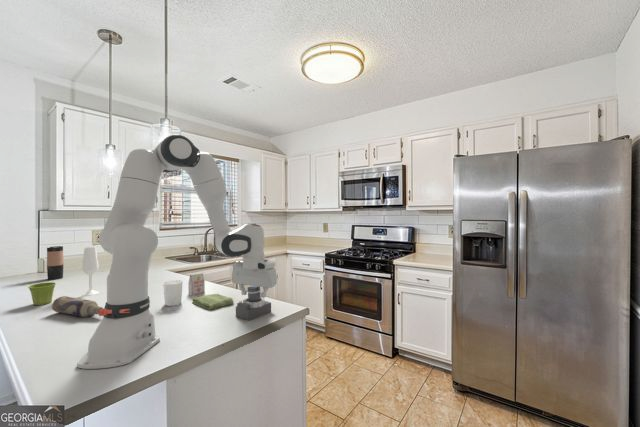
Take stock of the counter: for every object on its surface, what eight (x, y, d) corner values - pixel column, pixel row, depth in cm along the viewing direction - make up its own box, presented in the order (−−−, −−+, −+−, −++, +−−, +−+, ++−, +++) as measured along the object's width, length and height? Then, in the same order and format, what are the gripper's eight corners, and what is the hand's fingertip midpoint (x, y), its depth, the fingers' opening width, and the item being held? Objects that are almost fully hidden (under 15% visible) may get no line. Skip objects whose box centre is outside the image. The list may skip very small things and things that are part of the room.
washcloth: (215, 297, 145) (215, 290, 145) (235, 304, 133) (235, 297, 133) (189, 303, 135) (189, 296, 135) (208, 312, 123) (208, 304, 123)
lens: (263, 303, 121) (262, 286, 121) (255, 307, 116) (254, 289, 116) (254, 301, 123) (253, 284, 123) (245, 305, 119) (244, 288, 119)
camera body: (248, 320, 113) (248, 305, 112) (235, 316, 118) (235, 300, 118) (271, 312, 122) (271, 297, 122) (258, 308, 127) (258, 294, 127)
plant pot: (57, 303, 134) (57, 284, 134) (28, 308, 127) (28, 288, 127) (55, 299, 140) (55, 281, 140) (27, 303, 134) (27, 284, 133)
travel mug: (65, 278, 183) (65, 246, 183) (49, 280, 177) (49, 248, 176) (61, 276, 187) (60, 245, 187) (45, 279, 181) (44, 247, 180)
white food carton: (188, 294, 149) (188, 274, 149) (201, 291, 154) (201, 272, 154) (191, 295, 146) (191, 275, 146) (204, 292, 151) (204, 273, 151)
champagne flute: (102, 292, 152) (101, 246, 152) (90, 295, 146) (90, 248, 145) (90, 291, 153) (90, 246, 153) (78, 295, 146) (78, 248, 146)
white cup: (174, 307, 129) (174, 284, 129) (159, 305, 130) (159, 283, 130) (186, 301, 136) (186, 280, 136) (171, 300, 138) (171, 279, 138)
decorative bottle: (50, 314, 120) (50, 298, 120) (71, 309, 127) (71, 293, 127) (92, 322, 111) (92, 305, 111) (112, 316, 118) (112, 299, 118)
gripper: (228, 262, 121) (228, 295, 121) (270, 265, 113) (270, 301, 113) (237, 259, 126) (237, 291, 127) (278, 263, 119) (278, 296, 119)
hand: (253, 295), depth 120 cm, fingers open, 8 cm apart
